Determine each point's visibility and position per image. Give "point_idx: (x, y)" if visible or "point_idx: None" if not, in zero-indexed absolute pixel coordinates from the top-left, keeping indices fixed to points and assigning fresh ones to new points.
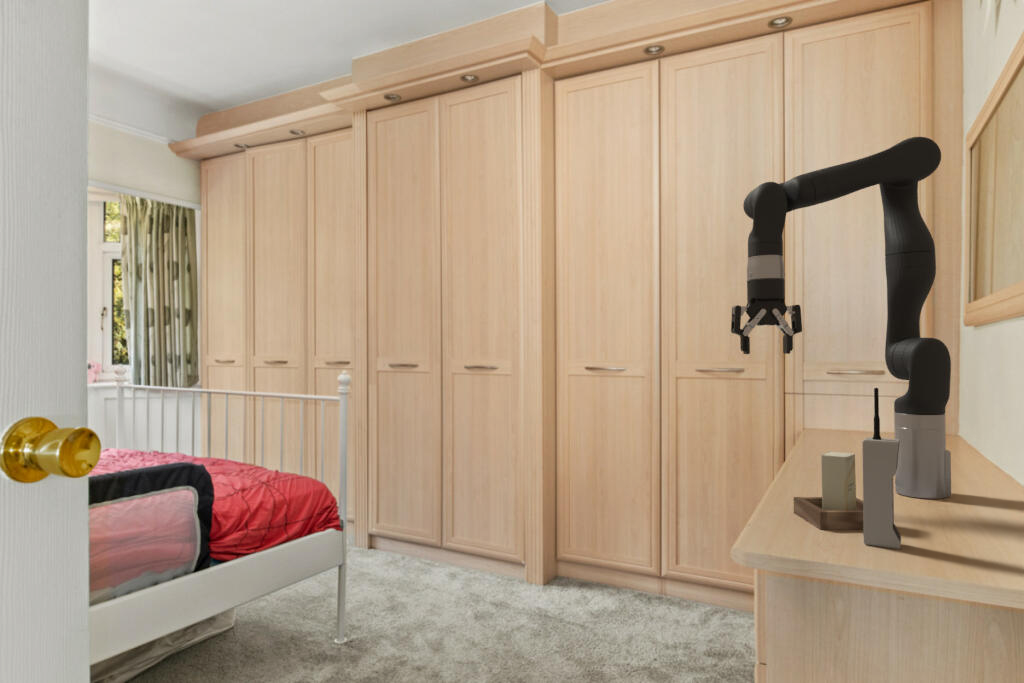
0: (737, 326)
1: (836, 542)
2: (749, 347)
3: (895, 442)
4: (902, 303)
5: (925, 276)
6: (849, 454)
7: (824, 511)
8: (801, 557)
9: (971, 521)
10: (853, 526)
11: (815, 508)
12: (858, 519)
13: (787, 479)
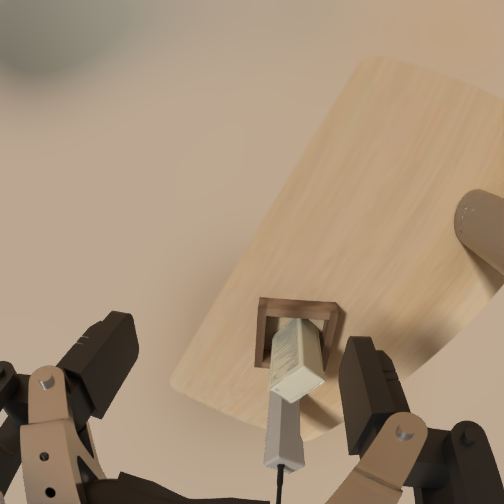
0: (19, 439)
1: (250, 383)
2: (125, 376)
3: (287, 472)
4: None
5: None
6: (311, 387)
7: (260, 365)
8: (206, 402)
9: (424, 335)
10: None
11: (256, 355)
12: None
13: (357, 80)
